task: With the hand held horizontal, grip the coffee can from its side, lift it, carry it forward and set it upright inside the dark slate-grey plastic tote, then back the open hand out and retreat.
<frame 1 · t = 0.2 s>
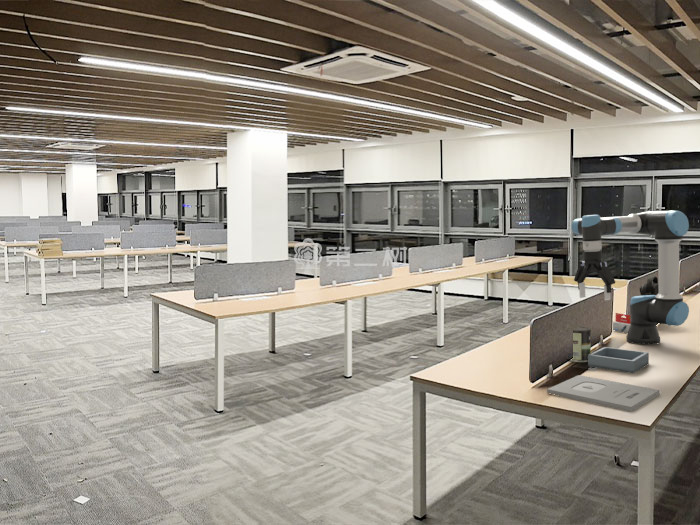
hand: (594, 298, 256), 28 cm above the table, tool pointing down, fingers open, 13 cm apart
award plaque: (602, 395, 211), on the table
tote: (618, 365, 249), on the table
coffee can: (578, 360, 261), on the table
ink cartridge box: (622, 332, 315), on the table
shoulder bag: (650, 325, 332), on the table
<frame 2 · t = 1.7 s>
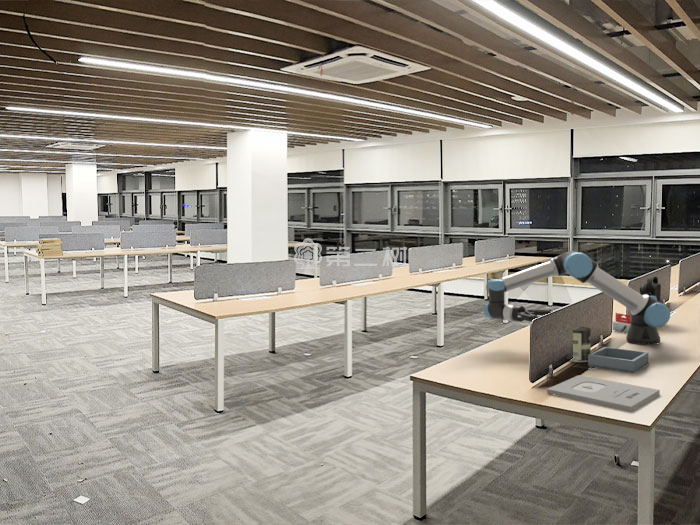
hand: (557, 317, 266), 18 cm above the table, tool horizontal, fingers open, 13 cm apart
nothing on the table moved.
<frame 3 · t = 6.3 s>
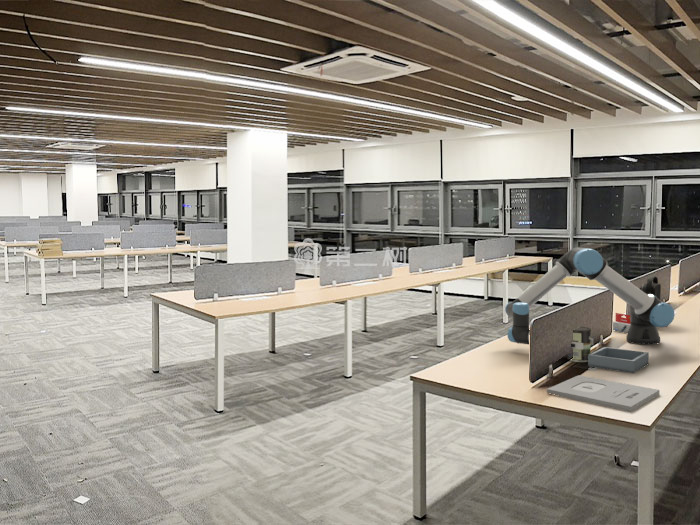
hand: (588, 344, 257), 8 cm above the table, tool horizontal, fingers closed on coffee can, 10 cm apart
coffee can: (578, 359, 261), on the table, touching gripper
everything else where it was.
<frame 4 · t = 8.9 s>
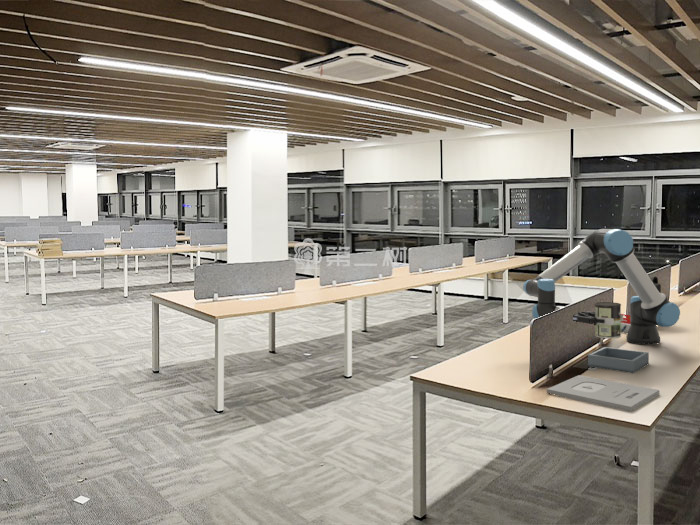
hand: (618, 319, 247), 20 cm above the table, tool horizontal, fingers closed on coffee can, 10 cm apart
coffee can: (607, 336, 250), point 12 cm above the table, touching gripper
everything else where it was.
when the fingers open (11 cm above the table, at t = 11.5 s): coffee can drops 2 cm, resting on tote.
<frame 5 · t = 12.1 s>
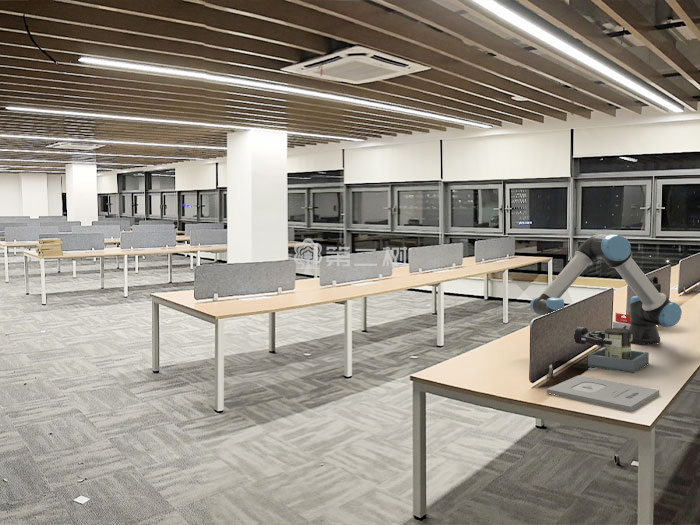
hand: (626, 340, 246), 11 cm above the table, tool horizontal, fingers open, 13 cm apart
coffee can: (618, 363, 249), point 1 cm above the table, touching tote
everything else where it was.
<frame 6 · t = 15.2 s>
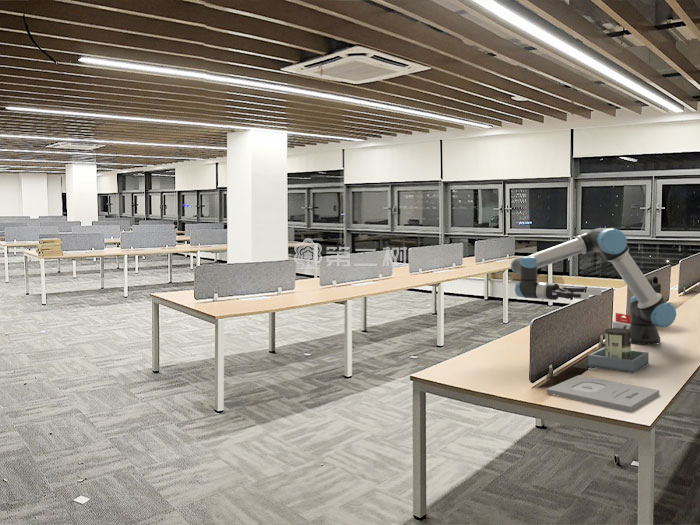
hand: (595, 294, 253), 30 cm above the table, tool horizontal, fingers open, 13 cm apart
nothing on the table moved.
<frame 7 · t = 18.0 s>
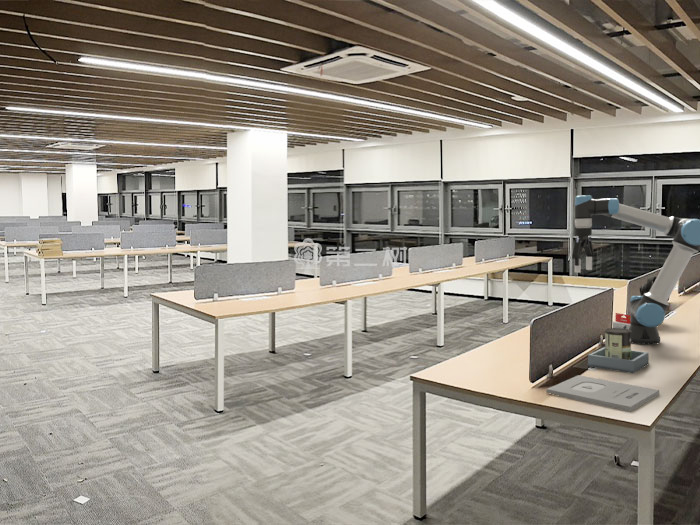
hand: (583, 271, 284), 37 cm above the table, tool pointing down, fingers open, 13 cm apart
nothing on the table moved.
at the end: coffee can inside the target area on the tote (0.1 cm from its centre), point 0.8 cm above the tote's base; coffee can tilted 0°; the gripper is holding nothing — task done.
